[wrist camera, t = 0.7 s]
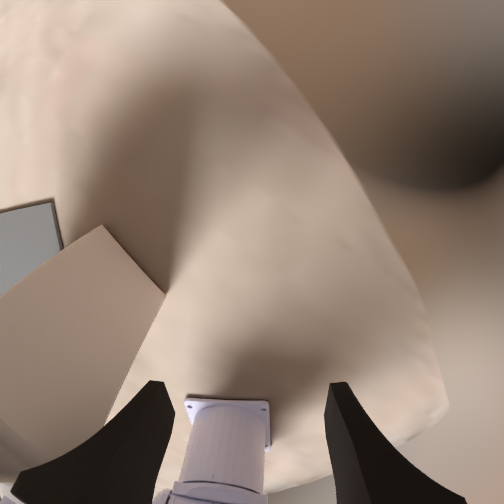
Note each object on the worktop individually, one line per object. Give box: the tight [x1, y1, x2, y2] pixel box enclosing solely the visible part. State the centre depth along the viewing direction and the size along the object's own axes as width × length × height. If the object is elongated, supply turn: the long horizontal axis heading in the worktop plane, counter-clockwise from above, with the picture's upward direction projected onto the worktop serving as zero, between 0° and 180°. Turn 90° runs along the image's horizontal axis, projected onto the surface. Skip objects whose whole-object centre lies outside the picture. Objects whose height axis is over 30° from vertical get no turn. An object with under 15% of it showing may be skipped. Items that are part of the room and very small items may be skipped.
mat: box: [0, 202, 63, 296], centre depth 21 cm, size 14×20×1 cm
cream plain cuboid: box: [0, 225, 166, 504], centre depth 12 cm, size 7×7×19 cm
